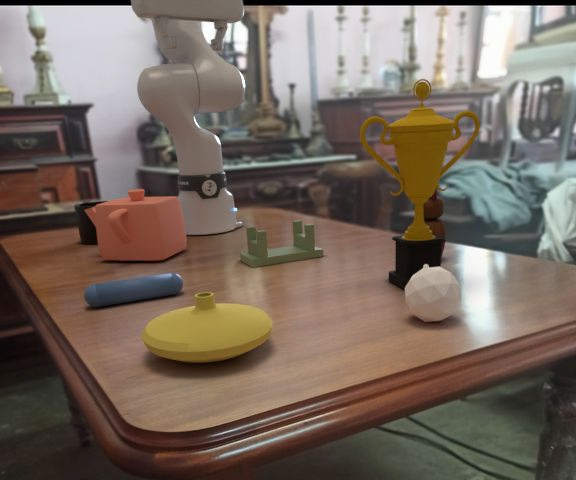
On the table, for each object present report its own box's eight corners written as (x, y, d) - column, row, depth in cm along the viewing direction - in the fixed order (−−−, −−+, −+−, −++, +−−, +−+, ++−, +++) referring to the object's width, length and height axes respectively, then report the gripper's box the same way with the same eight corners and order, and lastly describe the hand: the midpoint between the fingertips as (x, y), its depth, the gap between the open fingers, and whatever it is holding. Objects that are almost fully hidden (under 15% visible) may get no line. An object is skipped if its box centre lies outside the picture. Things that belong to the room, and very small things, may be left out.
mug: (133, 239, 145) (127, 202, 142) (83, 246, 141) (76, 207, 138) (126, 234, 153) (121, 198, 150) (79, 240, 149) (72, 203, 146)
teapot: (198, 245, 134) (191, 182, 129) (152, 269, 114) (142, 196, 109) (121, 245, 139) (111, 185, 134) (65, 268, 120) (51, 198, 114)
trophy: (455, 269, 101) (464, 78, 90) (486, 282, 92) (501, 73, 81) (350, 282, 97) (347, 84, 86) (373, 298, 88) (373, 79, 77)
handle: (87, 311, 90) (83, 288, 89) (85, 305, 93) (81, 283, 92) (186, 295, 96) (184, 273, 94) (181, 290, 99) (178, 269, 97)
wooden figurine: (445, 263, 105) (449, 177, 100) (412, 264, 106) (414, 178, 101) (443, 255, 111) (447, 173, 106) (412, 255, 113) (414, 174, 107)
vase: (180, 389, 62) (172, 326, 59) (124, 349, 74) (115, 295, 71) (300, 350, 70) (297, 293, 67) (232, 320, 82) (228, 271, 79)
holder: (240, 260, 117) (237, 227, 115) (308, 250, 122) (306, 218, 120) (252, 267, 111) (249, 233, 109) (323, 256, 116) (322, 223, 114)
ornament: (399, 327, 75) (387, 270, 78) (432, 332, 80) (420, 278, 83) (445, 308, 71) (431, 247, 73) (477, 315, 76) (463, 258, 78)
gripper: (226, -33, 105) (233, 53, 110) (119, -47, 93) (133, 50, 98) (247, -42, 100) (254, 48, 105) (137, -58, 88) (151, 44, 93)
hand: (195, 49), depth 101 cm, fingers open, 8 cm apart
